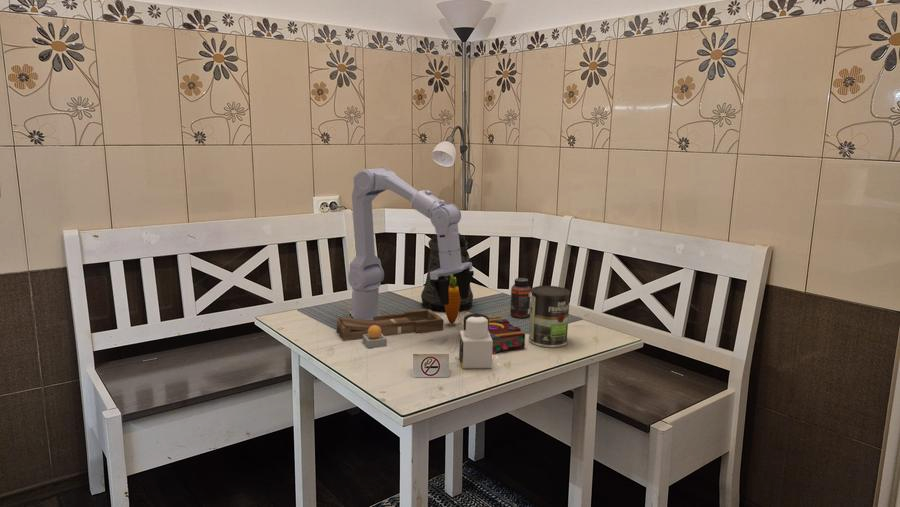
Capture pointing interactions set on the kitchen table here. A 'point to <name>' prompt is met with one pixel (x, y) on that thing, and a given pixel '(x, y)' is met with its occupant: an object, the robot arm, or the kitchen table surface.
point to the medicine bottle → (475, 342)
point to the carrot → (453, 301)
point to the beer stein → (429, 292)
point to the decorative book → (505, 335)
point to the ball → (374, 331)
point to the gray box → (374, 341)
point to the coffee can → (549, 316)
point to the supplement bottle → (520, 298)
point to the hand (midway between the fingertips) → (454, 301)
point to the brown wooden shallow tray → (390, 324)
